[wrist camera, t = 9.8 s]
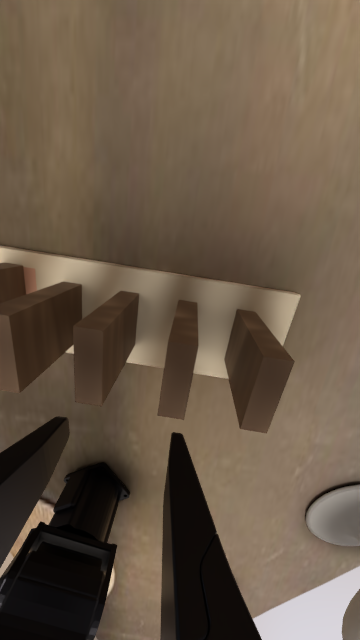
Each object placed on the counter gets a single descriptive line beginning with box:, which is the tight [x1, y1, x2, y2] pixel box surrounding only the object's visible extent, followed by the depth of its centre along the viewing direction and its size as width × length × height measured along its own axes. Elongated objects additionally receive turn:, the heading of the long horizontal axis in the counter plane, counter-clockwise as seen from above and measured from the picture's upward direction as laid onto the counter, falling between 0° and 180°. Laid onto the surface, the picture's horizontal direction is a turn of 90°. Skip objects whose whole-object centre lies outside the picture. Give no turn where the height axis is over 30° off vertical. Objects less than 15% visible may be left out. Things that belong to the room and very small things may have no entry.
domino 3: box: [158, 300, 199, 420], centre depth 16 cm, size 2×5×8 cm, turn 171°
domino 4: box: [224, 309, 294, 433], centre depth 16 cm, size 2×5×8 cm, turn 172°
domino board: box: [0, 245, 301, 379], centre depth 20 cm, size 32×9×1 cm, turn 82°
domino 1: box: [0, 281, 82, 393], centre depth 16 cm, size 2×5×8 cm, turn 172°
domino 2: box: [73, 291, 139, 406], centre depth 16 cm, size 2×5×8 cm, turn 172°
